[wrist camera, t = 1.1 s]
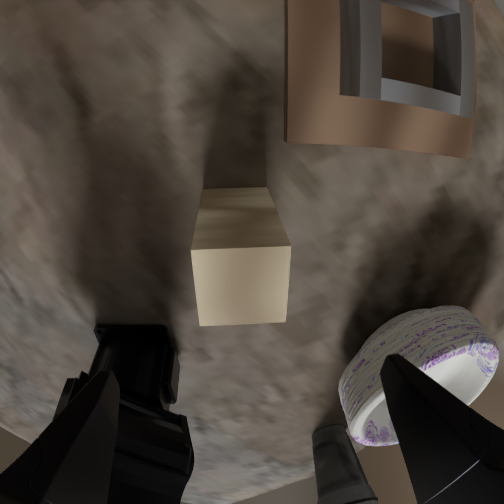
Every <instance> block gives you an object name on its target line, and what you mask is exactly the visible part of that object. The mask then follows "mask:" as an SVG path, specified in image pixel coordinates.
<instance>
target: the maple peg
mask: <svg viewBox="0 0 504 504" xmlns="http://www.w3.org/2000/svg"><path fill="white" fill-rule="evenodd" d="M191 257H192V266H193V275H194V283H195V292H196V300H197V307H198V315H199V322H200V326H217V325H241V324H260V323H276V322H286V312H287V299H288V286H289V272H290V257H291V244H290V242H289V239H288V237H287V234H286V232H285V230H284V227H283V225H282V222H281V220H280V217H279V215H278V212H277V210H276V208H275V205H274V203H273V200H272V198H271V196H270V193H269V191H268V189H267V187H249V188H219V189H203V191H202V196H201V201H200V206H199V210H198V215H197V220H196V225H195V230H194V236H193V241H192V246H191Z"/></svg>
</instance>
